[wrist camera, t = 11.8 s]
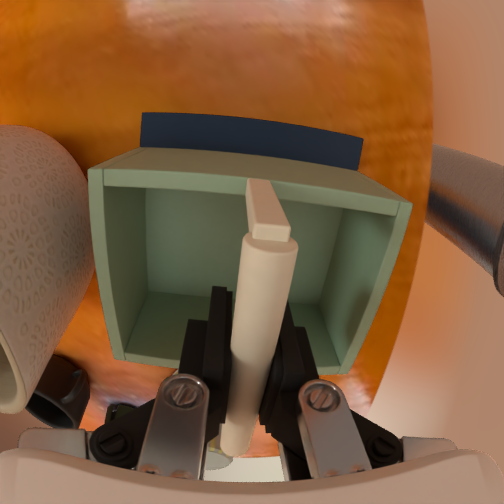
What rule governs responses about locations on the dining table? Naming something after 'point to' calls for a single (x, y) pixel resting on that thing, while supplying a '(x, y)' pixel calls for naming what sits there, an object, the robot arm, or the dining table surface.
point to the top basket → (240, 259)
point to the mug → (60, 395)
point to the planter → (38, 255)
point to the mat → (250, 138)
